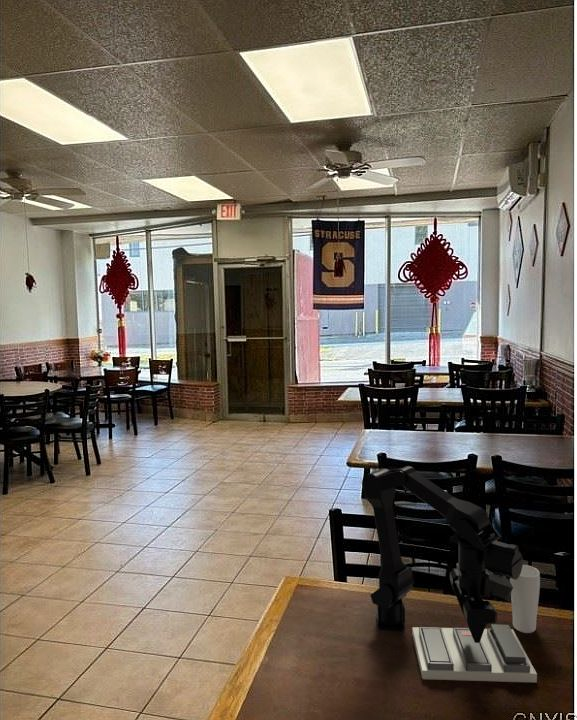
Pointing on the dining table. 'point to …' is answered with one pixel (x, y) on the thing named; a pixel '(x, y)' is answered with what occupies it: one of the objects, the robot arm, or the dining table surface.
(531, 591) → the drinking glass
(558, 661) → the dining table surface
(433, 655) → the button left
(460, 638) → the button middle
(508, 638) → the button right
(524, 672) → the switch panel base
